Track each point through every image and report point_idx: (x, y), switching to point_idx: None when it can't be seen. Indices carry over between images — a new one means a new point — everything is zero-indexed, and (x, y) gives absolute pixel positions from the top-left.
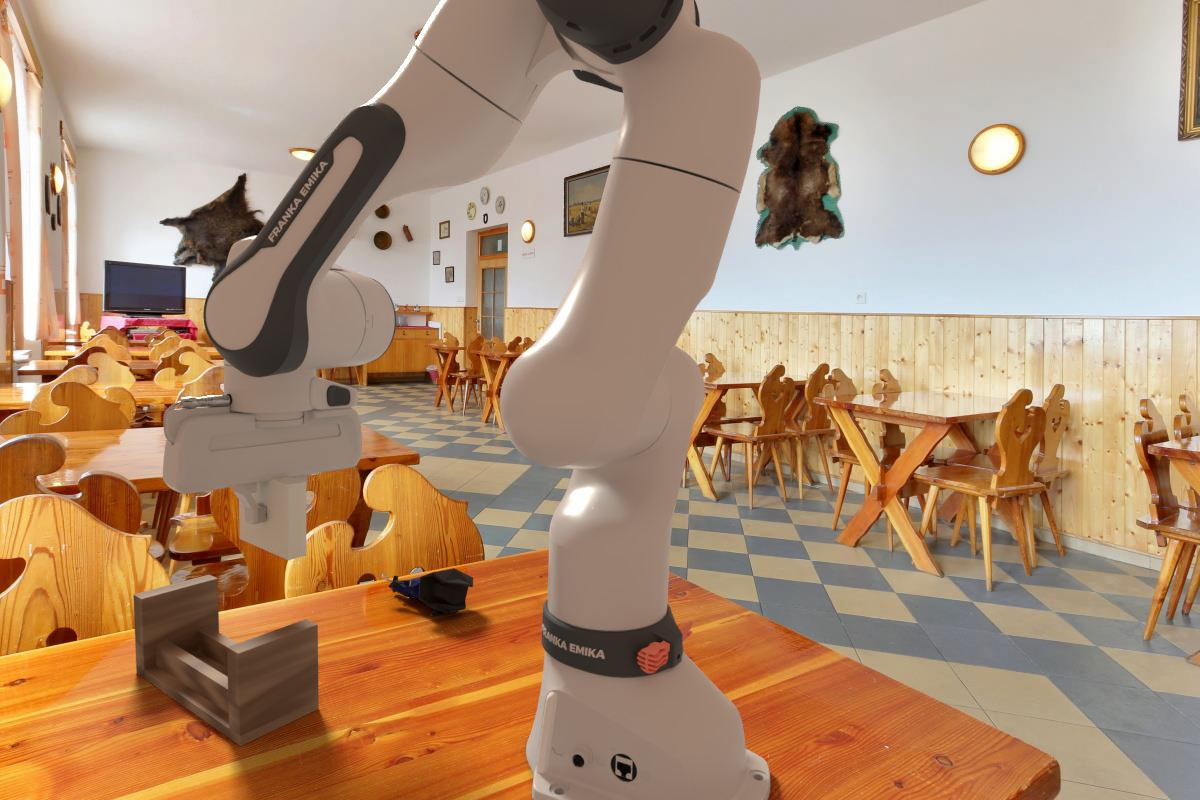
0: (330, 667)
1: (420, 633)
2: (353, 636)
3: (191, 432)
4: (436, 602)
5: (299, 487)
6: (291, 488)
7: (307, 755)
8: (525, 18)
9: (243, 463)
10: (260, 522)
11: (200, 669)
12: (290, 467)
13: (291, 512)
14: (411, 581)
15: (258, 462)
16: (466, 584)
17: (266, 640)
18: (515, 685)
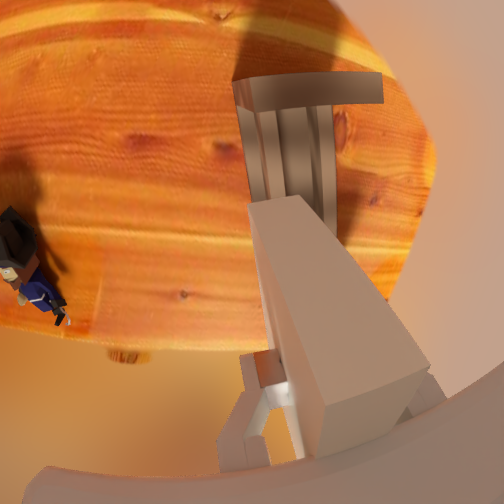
0: (177, 170)
1: (56, 196)
2: (126, 233)
3: None
4: (23, 236)
5: (360, 366)
6: (404, 352)
7: (280, 12)
8: None
9: (499, 440)
10: None
11: (332, 198)
12: (324, 491)
13: (348, 272)
14: (40, 296)
15: (458, 466)
16: None
17: (339, 80)
18: (36, 17)
